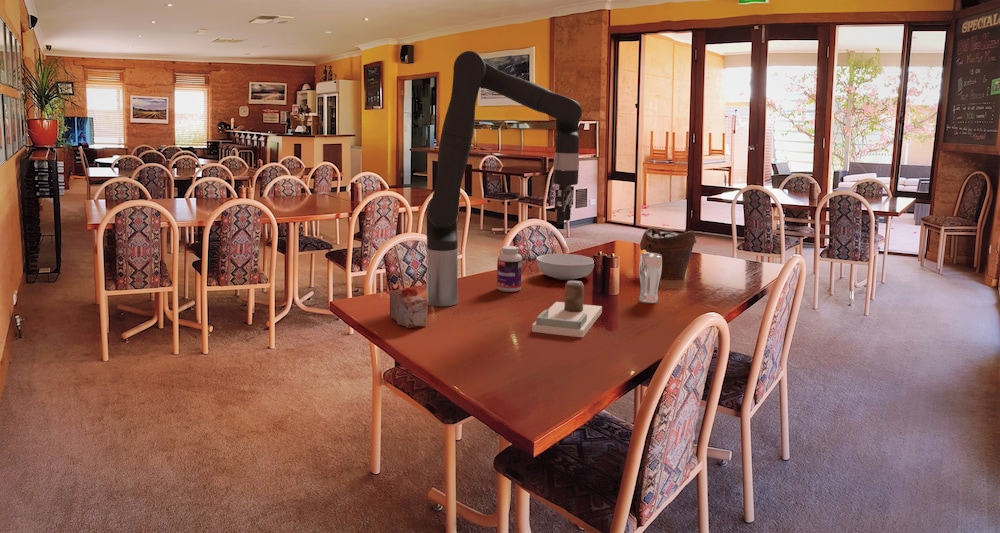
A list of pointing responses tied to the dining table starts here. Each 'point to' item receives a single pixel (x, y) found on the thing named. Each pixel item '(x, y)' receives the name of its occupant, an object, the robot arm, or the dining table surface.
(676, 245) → the brown bucket
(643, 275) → the beer glass
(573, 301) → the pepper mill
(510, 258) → the pill bottle
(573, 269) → the serving bowl
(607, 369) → the dining table surface
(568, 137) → the robot arm
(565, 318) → the board
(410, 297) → the grey stone block
